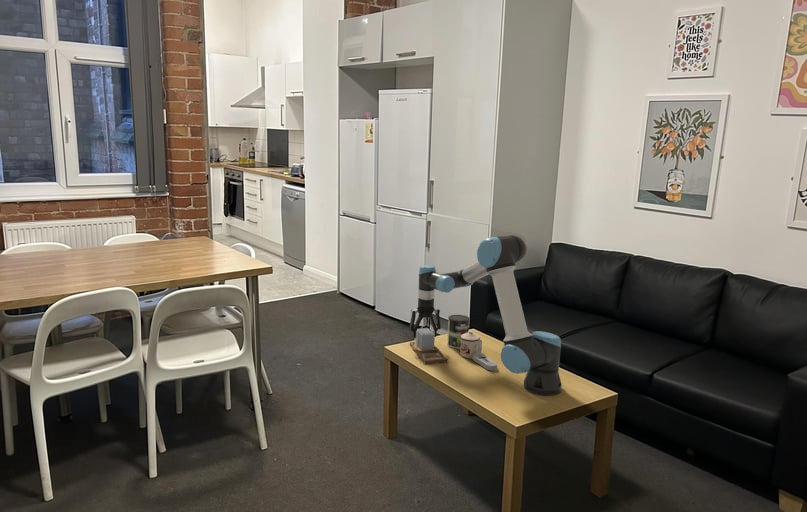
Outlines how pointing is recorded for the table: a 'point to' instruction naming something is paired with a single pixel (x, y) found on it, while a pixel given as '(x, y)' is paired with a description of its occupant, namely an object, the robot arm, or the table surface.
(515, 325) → the robot arm
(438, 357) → the tray
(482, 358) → the electronic device
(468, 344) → the teacup with lid
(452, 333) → the coffee can
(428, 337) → the grey paneled block
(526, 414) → the table surface
